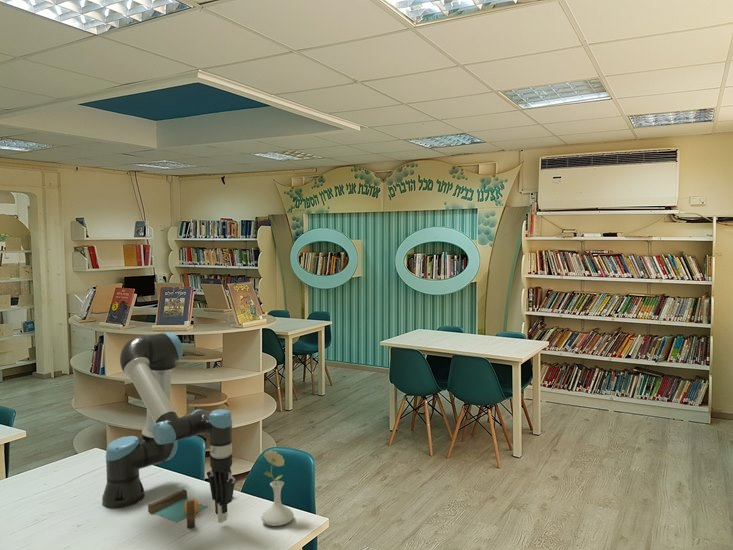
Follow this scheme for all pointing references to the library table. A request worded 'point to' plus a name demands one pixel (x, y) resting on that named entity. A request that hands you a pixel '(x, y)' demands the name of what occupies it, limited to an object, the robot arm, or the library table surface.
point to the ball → (195, 506)
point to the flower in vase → (276, 495)
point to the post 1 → (190, 514)
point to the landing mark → (176, 510)
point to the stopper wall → (167, 501)
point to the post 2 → (216, 508)
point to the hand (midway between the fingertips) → (222, 520)
